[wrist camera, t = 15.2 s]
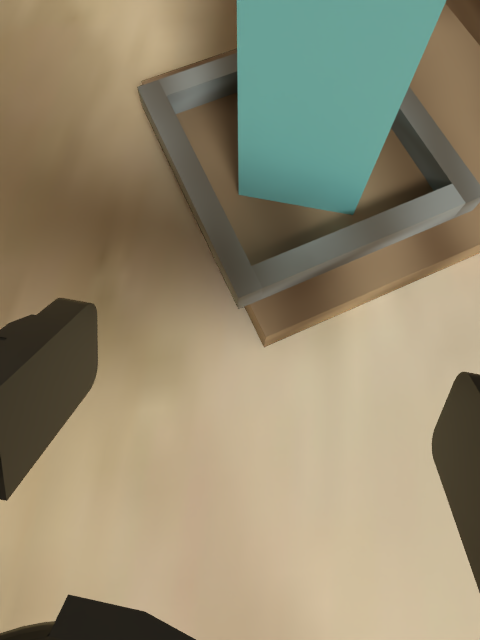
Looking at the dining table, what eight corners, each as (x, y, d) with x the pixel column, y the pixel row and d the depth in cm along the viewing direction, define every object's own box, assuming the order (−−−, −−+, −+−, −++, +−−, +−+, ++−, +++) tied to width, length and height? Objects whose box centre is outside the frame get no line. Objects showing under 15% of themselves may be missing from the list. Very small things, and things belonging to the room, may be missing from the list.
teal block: (238, 194, 20) (236, -60, 10) (260, 104, 21) (275, -188, 12) (352, 215, 20) (458, -28, 10) (366, 122, 21) (469, -165, 12)
